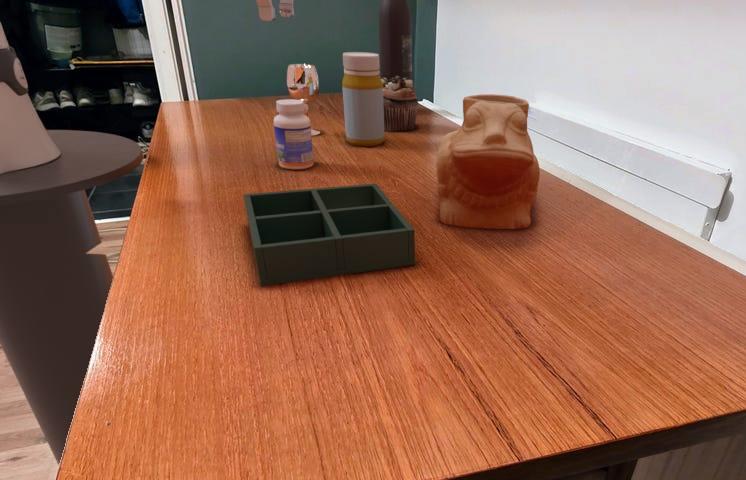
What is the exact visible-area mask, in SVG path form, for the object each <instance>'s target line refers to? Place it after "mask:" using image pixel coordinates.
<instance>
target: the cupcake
mask: <svg viewBox="0 0 746 480" xmlns="http://www.w3.org/2000/svg"><path fill="white" fill-rule="evenodd" d="M380 78H381V81H382V86H383V108H384V131H389V132H407V131H411V130H414V129H415V128H416V123H417V122H416V120H417V117H418V110H419V100H418V97H417V96H418V95H417V92H416V90H415V89H414V82H413V79H412V80H409V79H408V78H399V76H398V75H393V76H391V77H388V76H386V75H383V76H381V75H380ZM388 78H392V79H391V80H389V79H388Z"/></svg>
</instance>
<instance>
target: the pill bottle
mask: <svg viewBox="0 0 746 480" xmlns="http://www.w3.org/2000/svg"><path fill="white" fill-rule="evenodd" d="M275 104H276V105H275V106H276V112H278V114H277V115H275V116H274V118H273V128H274V136H275V144H276V151H277V158H278V159H277V161H278V165H279V166H280V168H282V169H286V170H306V169H309V168H311V167H313V166H314V163H315V160H314V159H315V158H314V151H313V138H312V137H313V136H311V129H312V128H311V127H312V126H311V120H310V118H309V116H308V117H307V116H305V113H304V110H305V108H304V102H303V101H301V100H295V99H294V98H292V99H290V98H289V99H287V98H286V99H279V100H276V102H275Z"/></svg>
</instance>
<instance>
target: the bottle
mask: <svg viewBox="0 0 746 480" xmlns="http://www.w3.org/2000/svg"><path fill="white" fill-rule="evenodd" d="M342 62H343V63H342V65H343V66H342V67H343V73H344V74H343V78H342V82H341V84H342V86H341V87H342V88H341V89H342V102H343V115H344V127H345V128H344V129H345V130H344V131H345V139H346V140H347V142H348V143H349V144H350V145H353V146H356V147H374V146H375V147H376V146H380V145H381V144H382V143H383V142H384V141H385V130H384V108H383V86H382V81H381V78H380V77H381V70H380V54H379V53H374V52H367V51H366V52H364V51H347V52H343V53H342Z"/></svg>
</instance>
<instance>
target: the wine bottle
mask: <svg viewBox="0 0 746 480" xmlns="http://www.w3.org/2000/svg"><path fill="white" fill-rule="evenodd" d="M378 7H379V8H378V41H379V70H380V77H381V76H383V75H386V76H388V77H391V76H393V75H398V76H399V78H408V79H409V80H412V81H413V51H412V50H413V47H412V45H413V43H412V39H413V38H412V36H413V34H412V31H413V30H412V12H411V8H410V4H409V2H408V0H381V1H380V3H379V6H378ZM388 79H389V80H391V79H392V78H388Z"/></svg>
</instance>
